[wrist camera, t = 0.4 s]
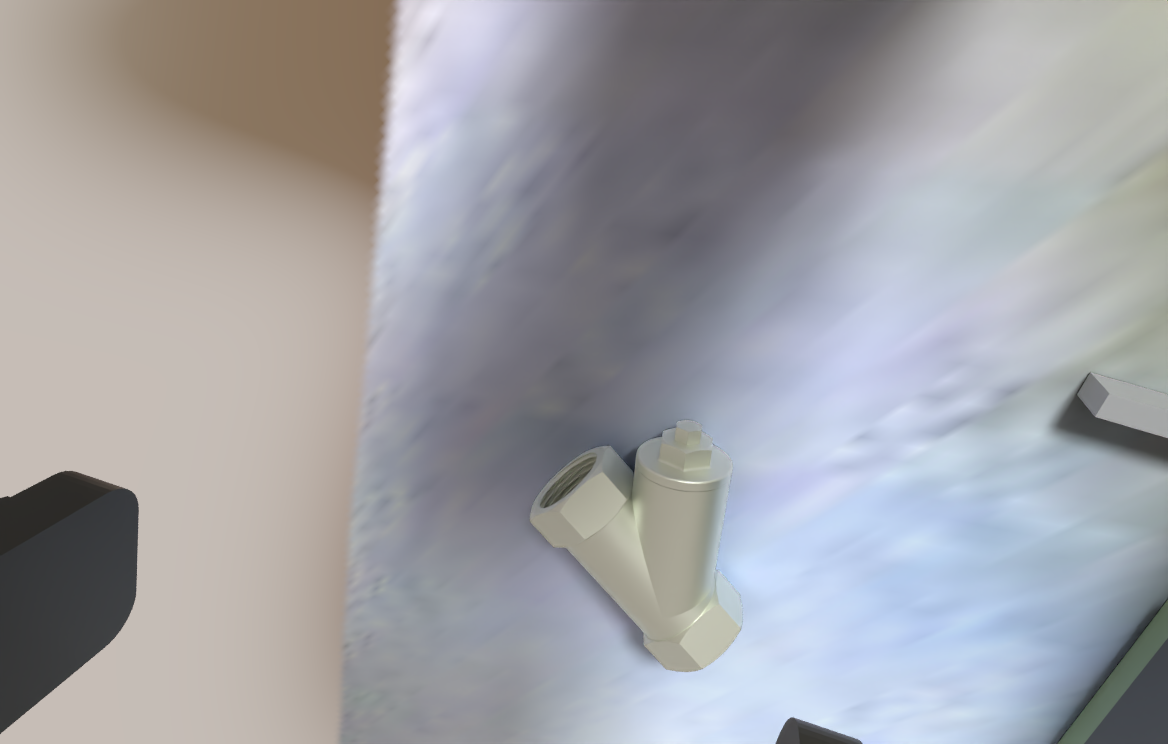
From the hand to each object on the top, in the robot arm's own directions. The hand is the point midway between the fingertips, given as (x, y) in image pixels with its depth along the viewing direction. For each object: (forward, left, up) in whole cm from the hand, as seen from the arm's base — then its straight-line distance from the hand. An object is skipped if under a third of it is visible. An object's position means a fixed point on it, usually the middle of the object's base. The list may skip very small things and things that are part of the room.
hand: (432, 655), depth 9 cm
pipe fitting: (+9, +4, -18) cm, 21 cm away
